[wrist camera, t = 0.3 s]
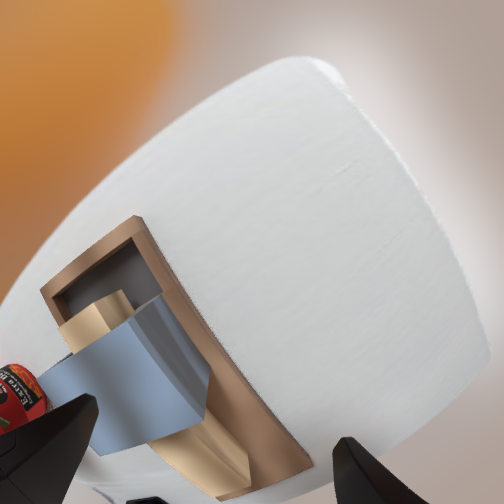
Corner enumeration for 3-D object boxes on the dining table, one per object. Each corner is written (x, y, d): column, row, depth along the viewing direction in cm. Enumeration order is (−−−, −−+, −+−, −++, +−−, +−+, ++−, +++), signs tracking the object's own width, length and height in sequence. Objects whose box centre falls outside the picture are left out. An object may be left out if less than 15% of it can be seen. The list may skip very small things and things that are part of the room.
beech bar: (213, 463, 21) (212, 497, 16) (88, 311, 20) (57, 328, 15) (247, 450, 21) (251, 485, 16) (121, 289, 20) (93, 302, 15)
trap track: (220, 490, 23) (221, 547, 14) (50, 286, 21) (-15, 305, 12) (308, 455, 24) (332, 513, 15) (141, 217, 22) (87, 203, 12)
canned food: (51, 387, 21) (-1, 435, 10) (46, 426, 21) (6, 472, 10) (7, 348, 21) (-50, 380, 10) (5, 391, 21) (-40, 425, 10)
